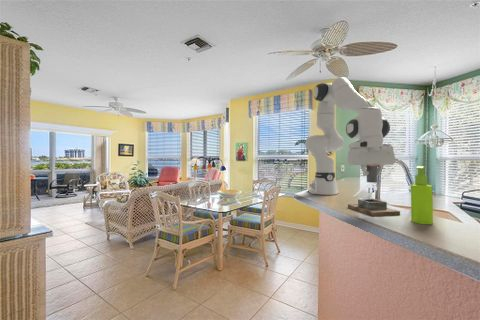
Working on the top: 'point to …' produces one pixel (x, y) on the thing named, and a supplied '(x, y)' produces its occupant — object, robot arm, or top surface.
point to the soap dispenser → (421, 199)
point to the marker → (372, 173)
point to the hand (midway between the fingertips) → (371, 175)
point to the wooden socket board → (373, 207)
